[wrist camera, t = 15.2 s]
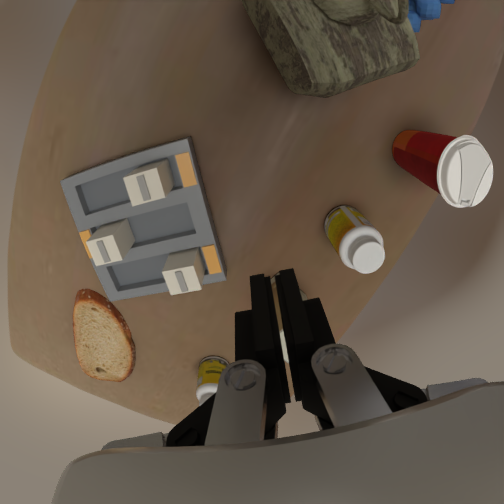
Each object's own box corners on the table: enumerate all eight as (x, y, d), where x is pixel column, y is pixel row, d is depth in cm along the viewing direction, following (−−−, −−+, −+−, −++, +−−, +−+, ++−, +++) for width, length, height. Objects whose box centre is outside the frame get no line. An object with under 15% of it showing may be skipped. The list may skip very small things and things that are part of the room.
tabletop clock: (353, 78, 33) (495, 70, 11) (289, 104, 35) (370, 111, 13) (302, -18, 27) (378, -129, 5) (235, 5, 29) (232, -114, 7)
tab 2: (170, 251, 42) (161, 273, 37) (198, 245, 41) (193, 266, 36) (177, 272, 43) (170, 296, 38) (205, 267, 43) (201, 290, 38)
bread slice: (88, 279, 45) (79, 292, 42) (167, 349, 52) (164, 364, 49) (44, 327, 50) (36, 340, 46) (112, 383, 57) (107, 396, 53)
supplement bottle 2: (323, 243, 44) (344, 283, 34) (322, 206, 41) (345, 238, 32) (360, 239, 43) (389, 276, 34) (361, 202, 41) (393, 232, 32)
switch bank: (69, 175, 37) (59, 181, 35) (190, 136, 36) (186, 139, 34) (115, 291, 46) (109, 302, 43) (226, 270, 45) (226, 281, 42)
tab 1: (102, 224, 39) (84, 243, 34) (126, 217, 39) (111, 235, 34) (110, 246, 41) (95, 267, 36) (135, 240, 41) (121, 261, 36)
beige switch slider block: (137, 167, 36) (122, 178, 31) (167, 158, 36) (155, 168, 31) (145, 192, 38) (131, 207, 33) (175, 184, 38) (164, 198, 32)
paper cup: (425, 180, 40) (486, 216, 27) (380, 171, 39) (436, 206, 27) (435, 128, 36) (502, 147, 24) (389, 115, 36) (452, 128, 23)
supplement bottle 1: (234, 360, 53) (234, 405, 44) (222, 378, 55) (221, 421, 46) (206, 351, 52) (201, 395, 43) (195, 369, 54) (189, 412, 45)
